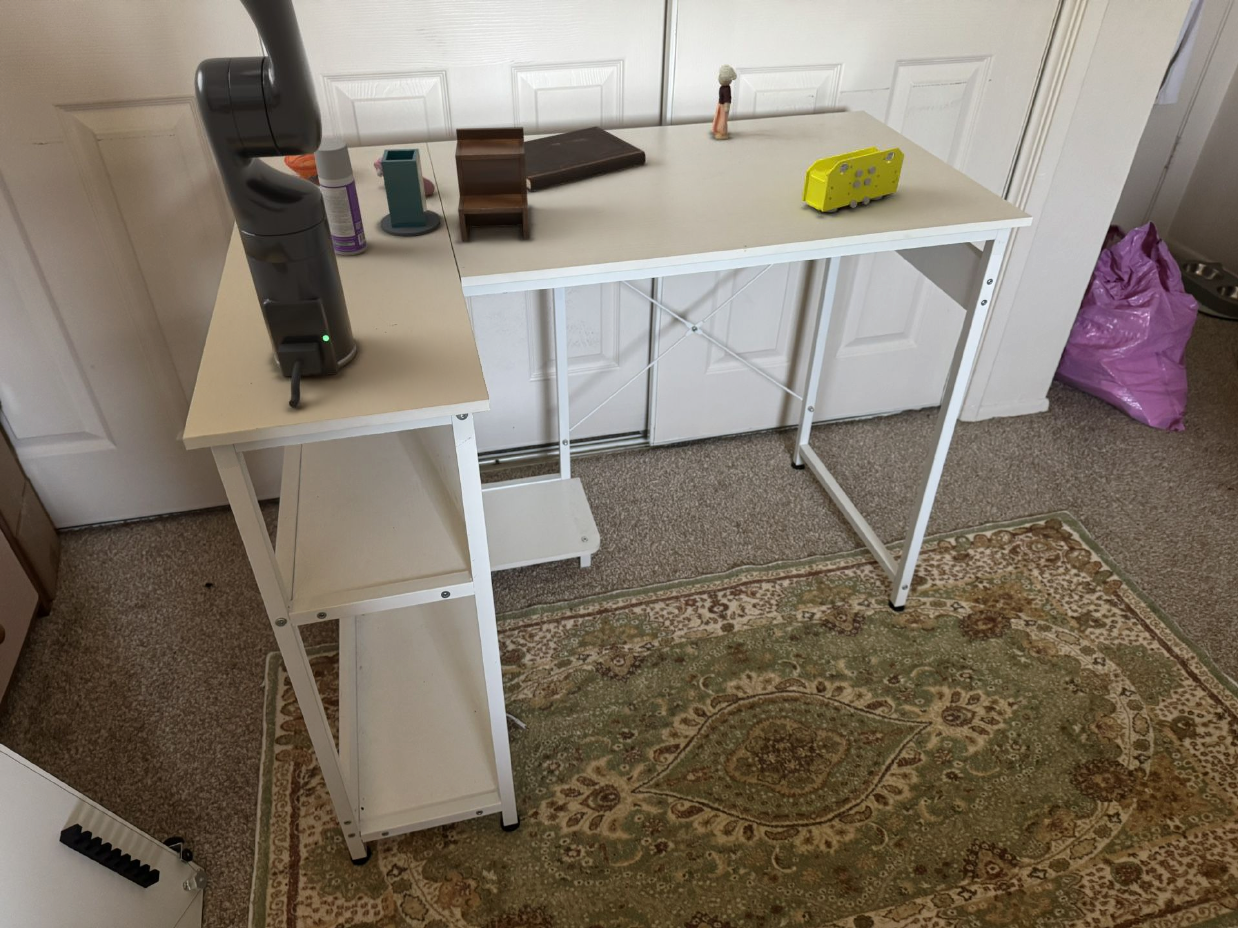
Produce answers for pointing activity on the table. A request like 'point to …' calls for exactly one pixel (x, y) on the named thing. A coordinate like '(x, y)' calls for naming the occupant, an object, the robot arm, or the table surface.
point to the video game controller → (428, 184)
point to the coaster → (431, 225)
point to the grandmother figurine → (723, 102)
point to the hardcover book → (577, 157)
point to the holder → (404, 187)
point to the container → (340, 197)
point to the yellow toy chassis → (852, 178)
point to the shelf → (491, 178)
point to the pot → (302, 165)
